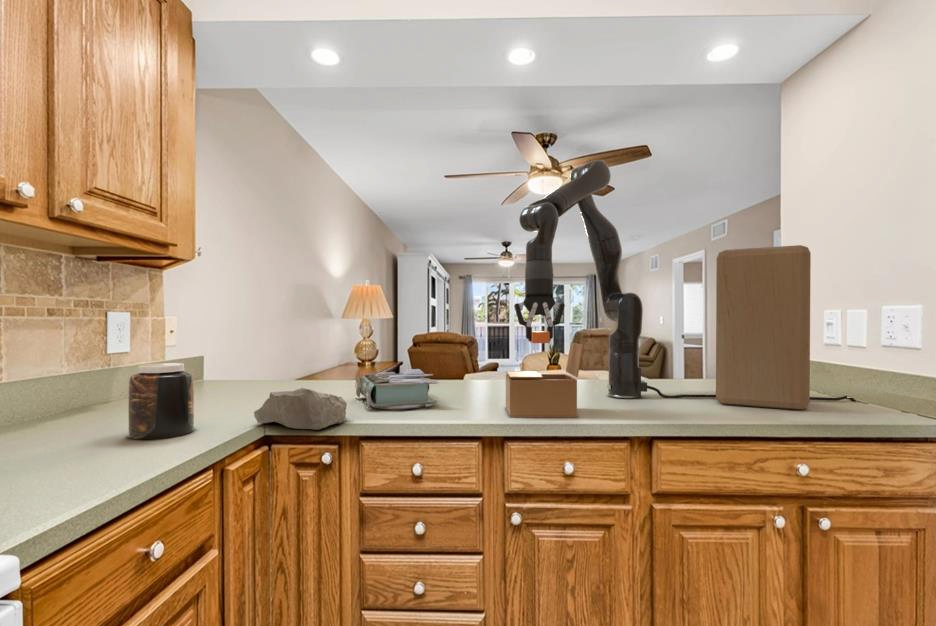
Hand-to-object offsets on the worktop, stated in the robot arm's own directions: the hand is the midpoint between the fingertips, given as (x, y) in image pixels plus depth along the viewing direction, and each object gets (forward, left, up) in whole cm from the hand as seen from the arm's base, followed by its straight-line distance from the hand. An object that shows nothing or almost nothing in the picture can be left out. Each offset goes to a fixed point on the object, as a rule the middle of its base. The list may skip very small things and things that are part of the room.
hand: (539, 340), depth 132 cm
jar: (+86, +27, -19) cm, 92 cm away
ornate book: (+40, -12, -19) cm, 46 cm away
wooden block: (-68, -12, -19) cm, 71 cm away
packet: (0, 0, -1) cm, 1 cm away
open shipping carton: (0, +3, -19) cm, 19 cm away
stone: (+59, +17, -19) cm, 65 cm away
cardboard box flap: (-9, +3, -5) cm, 10 cm away
